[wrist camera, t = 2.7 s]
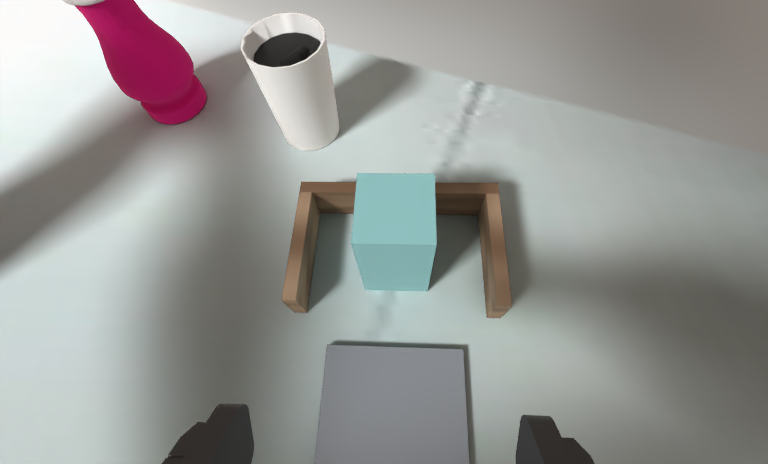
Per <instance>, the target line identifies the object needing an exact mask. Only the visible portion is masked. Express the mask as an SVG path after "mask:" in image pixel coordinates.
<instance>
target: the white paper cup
mask: <svg viewBox="0 0 768 464" xmlns="http://www.w3.org/2000/svg"><path fill="white" fill-rule="evenodd" d="M241 51H242V53H243V55H244V57H245V59H246V61H247V63H248V65H249V67H250V69H251V71H252V73H253V75H254V77H255V79H256V81H257V83H258V85H259V87H260V89H261V91H262V93H263V95H264V97H265V99H266V100H267V102H268V104H269V106H270V108H271V110H272V112H273V114H274V116H275V118H276V120H277V122H278V124H279V126H280V128H281V130H282V132H283V134H284V136H285V138H286V140H287V142H288V144H290V145H291V146H293V147H294V148H295V149H299V150H303V151H313V150H319V149H321V148H323V147H326V146H328V145H329V144H330V143H331V142H332V141H334V140H335V139H336V137H337V135H338V133H339V130H340V127H339V117H338V111H337V105H336V98H335V92H334V86H333V80H332V73H331V67H330V61H329V54H328V48H327V42H326V36H325V29H324V28H323V27H322V25H321V24H320V22H319V21H318V20H316V19H314V18H313V17H311V16H309V15H307V14H300V13H294V12H289V13H279V14H275V15H272V16H269V17H266V18H263V19H261V20H260V21H258V22H257V23H255V24H254V25H252V26H251V27H249V29H248V30H247V32H246V33H245V34H244V36H243V37H242V42H241Z"/></svg>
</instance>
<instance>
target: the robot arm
mask: <svg viewBox="0 0 768 464" xmlns="http://www.w3.org/2000/svg"><path fill="white" fill-rule="evenodd" d="M253 451H254V442H253V436H252V429H251V422H250V416H249V410H248V407H247V405H244V404H219V405H218V406H217V407H216V408H215V410H214V411H213V413H212V414H211V416H210V418H209V419H208V421H207V422H206V423H202V422H198V423H197V424H196V425H194V426H193V427H192V428H191V429H190V430H189V431H187V432H186V433H185V434H184V435H183V436H181V437H180V439H179V440H178V442H177V443H176V445H175V446H174V447H173V449H172V450H171V452H170V453H169V455H168V458H166V459H165V460H164V462H163V463H162V464H251V461H252V457H253ZM516 464H594V462H593V460H592V458H591V456H590V455H589V454H588V453H587V452H586V451H585V450H584V449H583V448H582V447H581V446H580V445H579V443H578V442H577V441H576V440H575V439H574V438H562V437H561V435H560V433H559V431H558V429H557V427H556V425H555V422H554V421H553V419H552V418H551V417H550V416H533V415H523V416H522V417H521V421H520V428H519V436H518V443H517V450H516Z"/></svg>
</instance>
